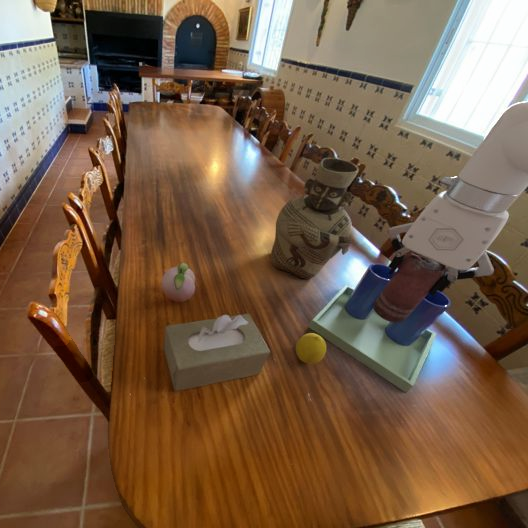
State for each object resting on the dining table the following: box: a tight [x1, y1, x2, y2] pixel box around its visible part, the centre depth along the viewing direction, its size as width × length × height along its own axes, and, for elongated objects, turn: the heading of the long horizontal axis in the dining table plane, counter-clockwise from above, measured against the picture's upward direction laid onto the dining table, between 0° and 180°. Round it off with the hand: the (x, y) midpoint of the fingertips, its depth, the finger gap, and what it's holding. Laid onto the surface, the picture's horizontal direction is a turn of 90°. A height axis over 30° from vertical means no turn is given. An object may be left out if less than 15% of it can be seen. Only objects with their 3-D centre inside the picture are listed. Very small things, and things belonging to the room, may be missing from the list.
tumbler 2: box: [385, 291, 452, 346], centre depth 67 cm, size 6×6×14 cm
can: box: [373, 252, 447, 323], centre depth 58 cm, size 6×6×14 cm
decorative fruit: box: [161, 262, 196, 303], centre depth 73 cm, size 9×8×10 cm
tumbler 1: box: [344, 262, 397, 320], centre depth 72 cm, size 6×6×14 cm
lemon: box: [295, 332, 327, 365], centre depth 62 cm, size 6×6×8 cm
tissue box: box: [163, 313, 271, 392], centre depth 57 cm, size 19×10×16 cm, turn 104°
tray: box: [308, 283, 438, 393], centre depth 70 cm, size 22×20×3 cm
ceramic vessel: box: [270, 157, 360, 280], centre depth 81 cm, size 19×21×30 cm
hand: (411, 280), depth 56 cm, fingers closed on can, 6 cm apart
